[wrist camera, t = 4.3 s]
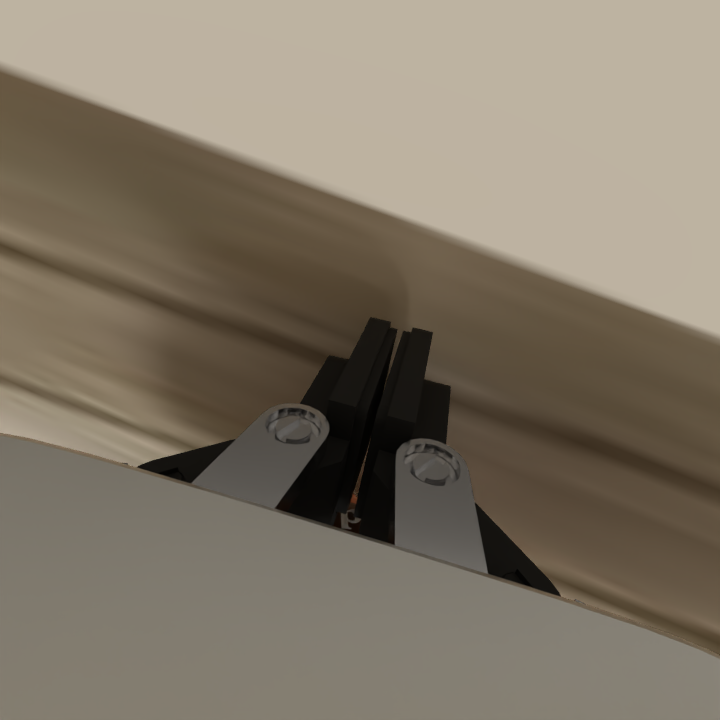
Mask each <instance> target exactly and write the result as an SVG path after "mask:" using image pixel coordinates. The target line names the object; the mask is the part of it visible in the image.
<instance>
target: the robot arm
mask: <svg viewBox="0 0 720 720" xmlns="http://www.w3.org/2000/svg"><path fill="white" fill-rule="evenodd" d="M390 325H391V322H389V321H385V320H380V319H376V318H372V317H371V318H370V320H369V321H368V323H367V325H366V327H365V329H364V331H363V333H362V335H361V337H360V339H359V341H358V343H357V345H356V347H355V349H354V351H353V353H352V355H351V357H350V359H349V360H347V359H343V358H339V357H335V356H331V355H330V356H329V357H328V358H327V360H326V361H325V363H324V365H323V366H322V368H321V370H320V371H319V373H318V375H317V376H316V378H315V380H314V381H313V383H312V385H311V386H310V388H309V390H308V391H307V393H306V395H305V396H304V398H303V399H302V401H301V403H300V404H296V403H286V404H279V405H276V406H274V407H271V408H269V409H268V410H266V411H265V412H263V413H262V414H261V415H260V416H259V417H258V418H257V419H256V420H255V421H254V422H253V423H252V424H251V425H250V426H249V427H248V428H247V429H246V430H245V431H244V432H243V433H242V434H241V435H240V436H239V437H238V438H237V439H234V440H230V441H226V442H222V443H218V444H214V445H211V446H207V447H203V448H199V449H195V450H191V451H187V452H184V453H180V454H176V455H172V456H168V457H164V458H161V459H157V460H153V461H150V462H147V463H145V464H142V465H140V466H138V467H133V466H130V465H128V463H119V462H116V461H113V460H109V459H106V458H102V457H99V456H95V455H92V454H88V453H85V452H81V451H77V450H73V449H69V448H65V447H61V446H57V445H53V444H49V443H46V442H42V441H38V440H34V439H30V438H25V437H20V436H14V435H9V434H3V433H0V720H720V655H718V654H716V653H714V652H712V651H710V650H708V649H706V648H703V647H701V646H699V645H696V644H694V643H691V642H689V641H687V640H684V639H682V638H679V637H677V636H675V635H672V634H670V633H667V632H664V631H662V630H659V629H656V628H653V627H650V626H647V625H644V624H641V623H638V622H636V621H633V620H630V619H627V618H624V617H621V616H618V615H615V614H612V613H610V612H607V611H604V610H601V609H598V608H595V607H592V606H589V605H586V604H584V603H582V602H580V601H578V600H576V599H575V600H574V601H573V600H569V599H566V598H563V597H561V596H560V594H559V592H558V590H557V589H556V588H555V587H554V585H553V584H552V583H551V581H550V580H549V579H548V578H547V577H546V576H545V575H544V574H543V573H542V572H541V571H540V570H539V569H538V568H537V566H536V565H535V564H534V563H533V562H532V561H531V560H530V559H529V558H528V557H527V556H526V555H525V554H524V553H523V552H522V551H521V550H520V549H519V548H518V547H517V546H516V545H515V544H514V542H513V541H512V540H511V539H510V538H509V537H508V536H507V535H506V534H505V533H504V532H503V531H502V530H501V529H500V528H499V527H498V526H497V525H496V524H495V523H494V522H493V521H492V520H491V518H490V517H489V516H488V515H487V514H486V513H485V512H484V511H483V510H482V509H481V508H480V507H479V506H478V505H477V504H476V503H475V502H474V497H473V491H472V486H471V481H470V475H469V470H468V467H467V465H466V462H465V461H464V459H463V458H462V457H461V456H460V454H459V453H457V452H456V451H455V450H454V449H452V448H451V447H449V446H447V445H446V437H447V425H448V414H449V402H450V391H451V387H450V386H448V385H444V384H440V383H436V382H432V381H428V380H424V376H425V371H426V366H427V361H428V355H429V350H430V345H431V339H432V334H433V332H429V331H425V330H421V329H417V328H412V332H407V331H403V334H402V337H401V340H400V343H399V346H398V349H397V352H396V355H395V358H394V361H393V364H392V367H391V370H390V373H389V377H388V380H387V383H386V386H385V382H386V377H387V373H388V369H389V364H390V360H391V355H392V351H393V347H394V342H395V338H396V333H397V329H395V328H390ZM384 386H385V389H384ZM383 390H384V392H383ZM370 439H371V440H370ZM369 442H370V444H369ZM368 445H369V448H368ZM367 448H368V453H367V457H366V462H365V466H364V471H363V475H362V479H361V484H360V488H359V493H358V497H357V502H356V506H355V510H354V515H353V517H356V518H359V519H361V523H360V527H359V534H357V533H353V532H350V531H347V530H344V529H340V528H337V527H334V526H333V525H334V522H335V519H336V516H337V513H338V512H339V513H343V514H346V513H347V510H348V507H349V504H350V501H351V498H352V495H353V492H354V489H355V485H356V482H357V479H358V476H359V473H360V470H361V467H362V464H363V460H364V457H365V454H366V451H367ZM330 525H331V526H330Z"/></svg>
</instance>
